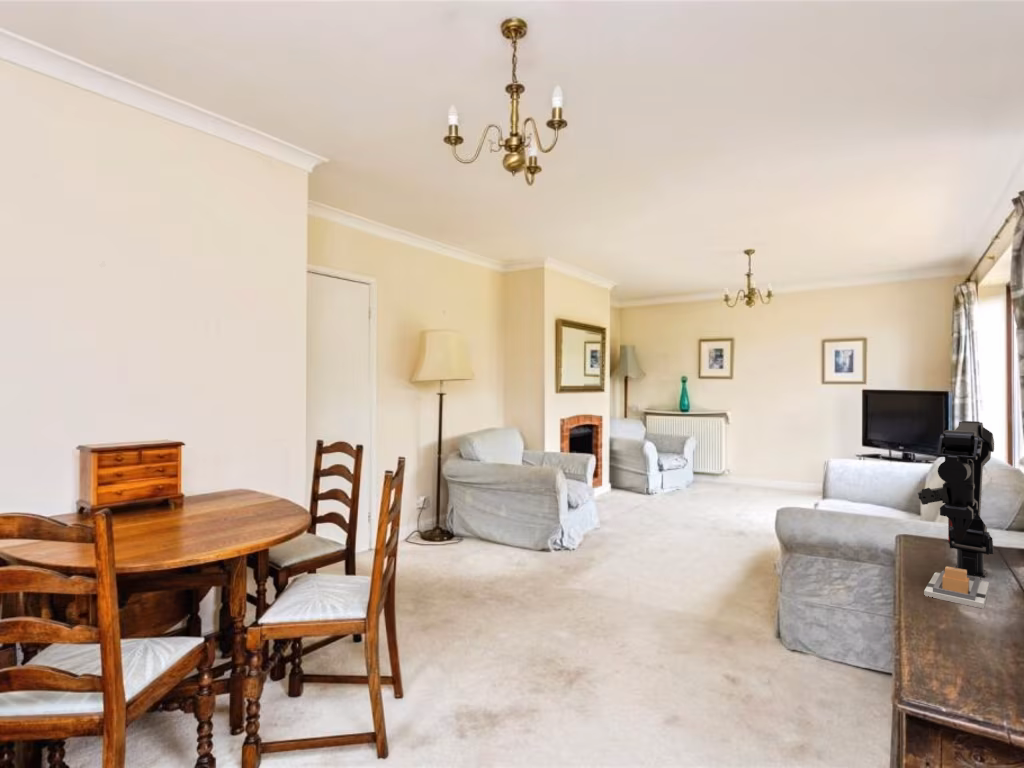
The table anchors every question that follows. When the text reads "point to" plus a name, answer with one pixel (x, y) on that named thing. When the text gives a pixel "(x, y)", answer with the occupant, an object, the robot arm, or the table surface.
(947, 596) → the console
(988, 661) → the table surface
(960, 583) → the fader knob
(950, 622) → the table surface
